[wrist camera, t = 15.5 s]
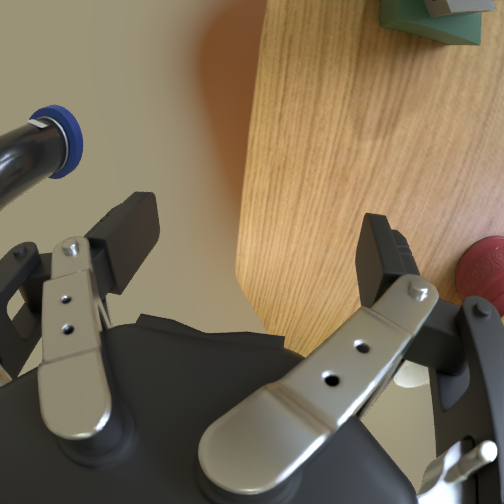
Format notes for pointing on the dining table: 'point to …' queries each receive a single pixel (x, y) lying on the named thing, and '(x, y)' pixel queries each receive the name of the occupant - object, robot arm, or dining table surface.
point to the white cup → (411, 375)
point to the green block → (430, 22)
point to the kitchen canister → (483, 272)
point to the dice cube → (457, 7)
